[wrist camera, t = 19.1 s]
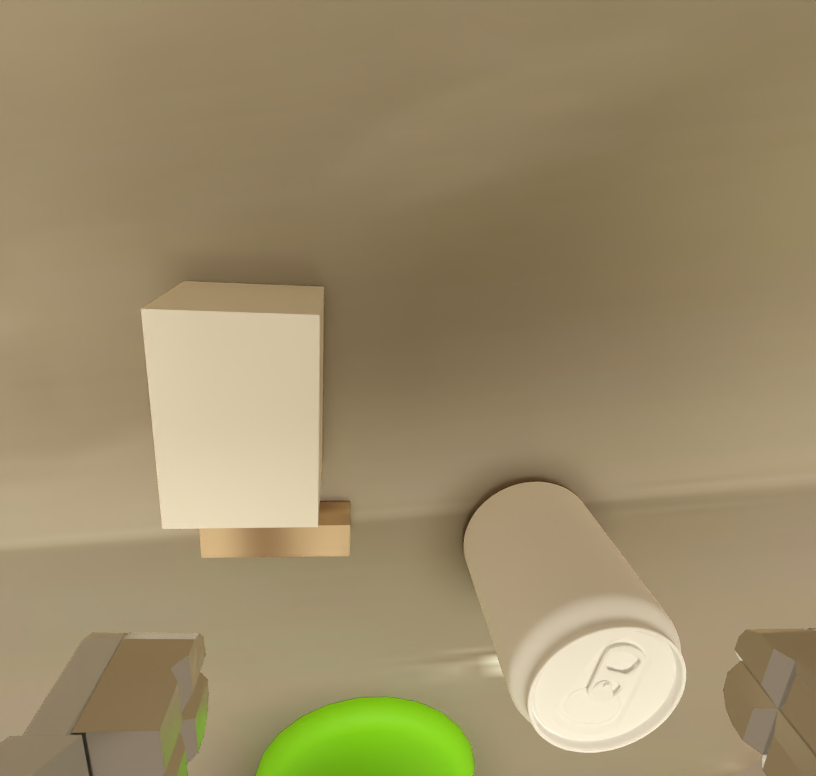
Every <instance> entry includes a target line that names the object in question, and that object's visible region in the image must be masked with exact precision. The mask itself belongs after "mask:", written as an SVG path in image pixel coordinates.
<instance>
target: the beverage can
mask: <svg viewBox="0 0 816 776" xmlns="http://www.w3.org/2000/svg"><path fill="white" fill-rule="evenodd" d="M464 556H465V560H466V563H467V566H468V569H469V572H470V575H471V578H472V581H473V584H474V587H475V590H476V593H477V596H478V599H479V602H480V606H481V609H482V612H483V615H484V618H485V621H486V624H487V627H488V630H489V633H490V636H491V639H492V642H493V645H494V648H495V651H496V654H497V657H498V660H499V663H500V666H501V669H502V672H503V675H504V678H505V682H506V685H507V688H508V691H509V693H510V696H511V699H512V701H513V702H514V704H515V706H516V707H517V709H518V710H519V712H520V713H521V714H522V715H523V716H524V717H525V718H526V719H527V720H528V721H529V722H530V723H531V724H532V725H533V727H534V728H535V730H536V731H537V732H538V734H539V735H540V736H541V737H542V738H544V739H545V740H546V741H548V742H549V743H551V744H553V745H555V746H557V747H559V748H562V749H565V750H569V751H574V752H583V753H593V752H603V751H609V750H613V749H617V748H620V747H623V746H626V745H628V744H631V743H633V742H635V741H637V740H639V739H641V738H643V737H644V736H646V735H648V734H649V733H651V732H652V731H653V730H655V729H656V728H657V727H658V726H659V725H661V724H662V723H663V722H664V721H665V720H666V719H667V718H668V717H669V715H670V714H671V713H672V712H673V710H674V709H675V707H676V706H677V704H678V702H679V701H680V699H681V696H682V694H683V691H684V688H685V683H686V667H685V662H684V659H683V657H682V655H681V647H680V641H679V637H678V634H677V631H676V629H675V627H674V625H673V623H672V621H671V620H670V618H669V617H668V615H667V614H666V613H665V611H664V610H663V609H662V607H661V606H660V605H659V603H658V602H657V601H656V599H655V598H654V597H653V595H652V594H651V593H650V591H649V590H648V589H647V587H646V586H645V585H644V583H643V582H642V581H641V579H640V578H639V577H638V575H637V574H636V573H635V571H634V570H633V569H632V567H631V566H630V565H629V563H628V562H627V561H626V559H625V558H624V557H623V555H622V554H621V553H620V551H619V550H618V549H617V547H616V546H615V545H614V543H613V542H612V541H611V539H610V538H609V537H608V535H607V534H606V533H605V531H604V530H603V529H602V527H601V526H600V525H599V523H598V522H597V521H596V520H595V518H594V517H593V516H592V514H591V513H590V512H589V510H588V509H587V508H586V506H585V505H584V504H583V502H582V501H581V500H580V499H579V498H578V497H577V496H576V495H575V494H574V493H572V492H571V491H569V490H568V489H566V488H564V487H561V486H559V485H556V484H552V483H547V482H526V483H520V484H516V485H513V486H510V487H508V488H505V489H503V490H501V491H499V492H497V493H496V494H494V495H493V496H491V497H490V498H489V499H487V500H486V501H485V502H484V503H483V504H482V505H481V506H480V507H479V508H478V509H477V511H476V512H475V513H474V515H473V516H472V518H471V520H470V522H469V524H468V526H467V529H466V532H465V536H464Z"/></svg>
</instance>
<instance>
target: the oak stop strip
mask: <svg viewBox="0 0 816 776" xmlns="http://www.w3.org/2000/svg"><path fill="white" fill-rule="evenodd" d="M199 529H200V545H201V558H217V557H302V556H349V552H350V501H320V505H319V521H318V527H286V528H199Z"/></svg>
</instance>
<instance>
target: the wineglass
mask: <svg viewBox="0 0 816 776" xmlns="http://www.w3.org/2000/svg"><path fill="white" fill-rule="evenodd" d="M474 766H475V764H474V759H473V754H472V749H471V745H470V743H469V741H468V740H467V738H466V737H465V735H464V733H463V732H462V730H461V729H460V727H459V726H458V725H456V724H455V723H454V722H453V721H451V720H450V719H449V718H448V717H447V716H445V715H444V714H443V713H442V712H440V711H437V710H435V709H433V708H430V707H428V706H426V705H423V704H421V703H419V702H416V701H410V700H404V699H398V698H393V697H366V698H355V699H351V700H346V701H342V702H338V703H334V704H329V705H326V706H324V707H322V708H320V709H318V710H316V711H313V712H311V713H309V714H307V715H305V716H302V717H300V718H299V719H298V720H297V721H295V722H294V723H293V724H291V725H290V726H289V727H287V728H286V729H285V730H283V731H282V732H281V733H279V734H278V736H277V737H276V738H275V739H274V741H273V742H272V743H271V745H270V746H269V747H268V748H267V750H266V751H265V752H264V754H263V756H262V759H261V761H260V764H259V767H258V770H257V772H256V776H473V773H474Z"/></svg>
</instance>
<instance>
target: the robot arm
mask: <svg viewBox="0 0 816 776" xmlns="http://www.w3.org/2000/svg"><path fill="white" fill-rule="evenodd" d="M735 652H736V653H737V655H738V657H739V659H740V662H739V663H738V664H736V665H735V666H734V667H733V668H732V669H731V670H730V671H729V672H728V673H727V677H726V681H725V685H724V689H723V692H724V699H725V706H726V710H727V713H728V715H729V718H730V720H731V722H732V725H733V726H734V728H735V729H736V731H737V732H738V734H739V736H740V737H741V739H742V740H743V741H744V742H746V743H747V744H748V745H750V746H751V747H752V748H754V749H755V750H757V751H758V752H759V753H761V754H762V770H763V771H764V773H765V774H766V775H767V776H816V628H809V629H749V630H745V631H744V632H743V633H742V634H741V635H740V636H739V638H738V641H737V644H736V647H735ZM205 655H206V654H205V646H204V638H203V636H202V635H201V634H193V633H136V632H129V633H95V632H93V633H91V634H90V635H89V636H87V637H86V638H85V639H84V640H83V641H82V642H81V643H80V645H79V647H78V648H77V650H76V651H75V653H74V655H73V656H72V658H71V659H70V661H69V662H68V664H67V666H66V667H65V669H64V670H63V672H62V674H61V675H60V677H59V678H58V680H57V681H56V683H55V685H54V686H53V688H52V689H51V691H50V693H49V694H48V696H47V697H46V699H45V701H44V702H43V704H42V705H41V707H40V708H39V710H38V712H37V713H36V715H35V716H34V718H33V720H32V721H31V723H30V724H29V726H28V727H27V729H26V731H25V732H24V734H23V735H22V736H9V737H8V738H7V739H5V740H4V741H2V742H1V743H0V776H188V771H187V764H188V763H189V762H190V761H191V760H192V759H193V758H194V757H195V756H196V755H197V754H198V753H199V749H200V746H201V742H202V739H203V735H204V730H205V724H206V718H207V712H208V695H209V692H208V679H207V678H206V677H205V676H204V675H203V674H202V673H201V672H200V670H201V667H202V664H203V661H204V658H205Z"/></svg>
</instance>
